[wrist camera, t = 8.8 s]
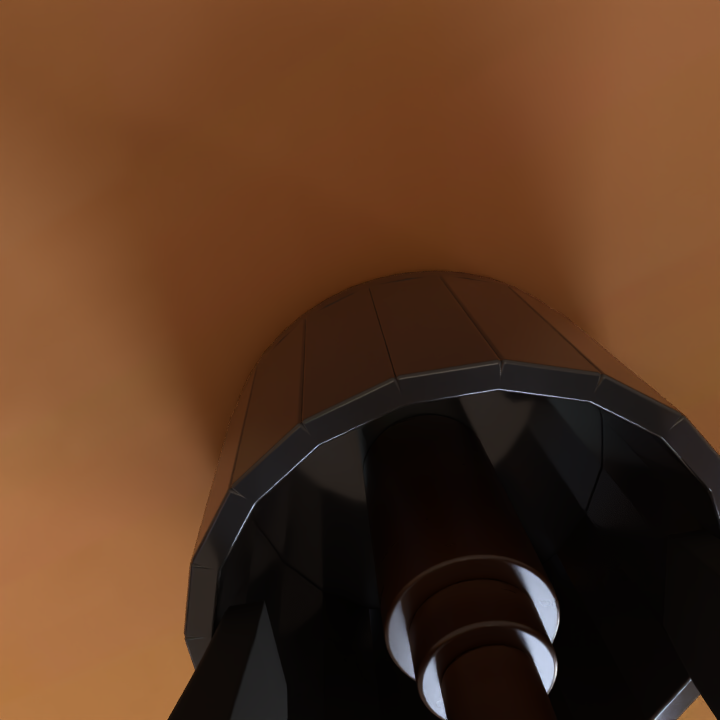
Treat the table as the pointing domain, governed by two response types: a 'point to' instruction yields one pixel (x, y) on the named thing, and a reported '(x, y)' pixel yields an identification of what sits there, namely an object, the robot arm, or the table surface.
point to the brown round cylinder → (511, 462)
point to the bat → (458, 576)
